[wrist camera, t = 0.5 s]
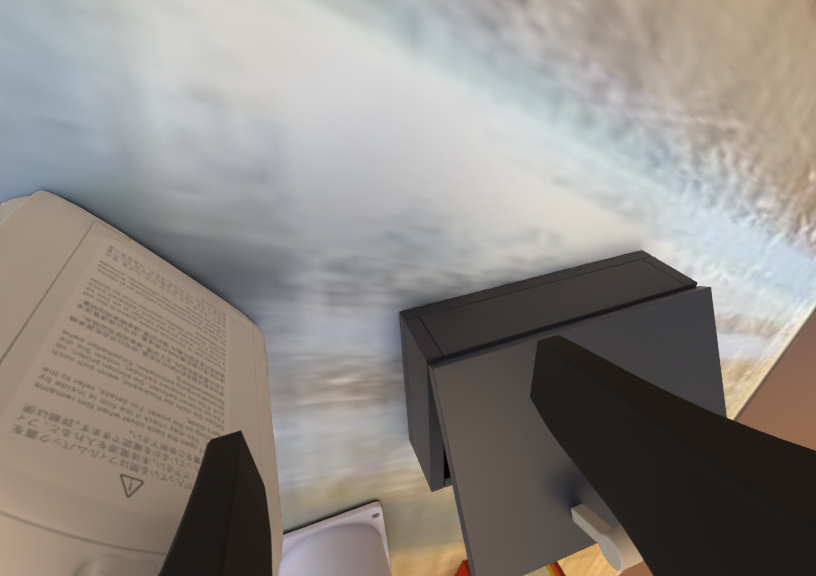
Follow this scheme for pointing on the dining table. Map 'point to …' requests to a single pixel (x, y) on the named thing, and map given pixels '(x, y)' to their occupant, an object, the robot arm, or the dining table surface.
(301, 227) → the dining table surface
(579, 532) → the cover
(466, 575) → the baking soda box
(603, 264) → the flip case
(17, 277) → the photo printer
